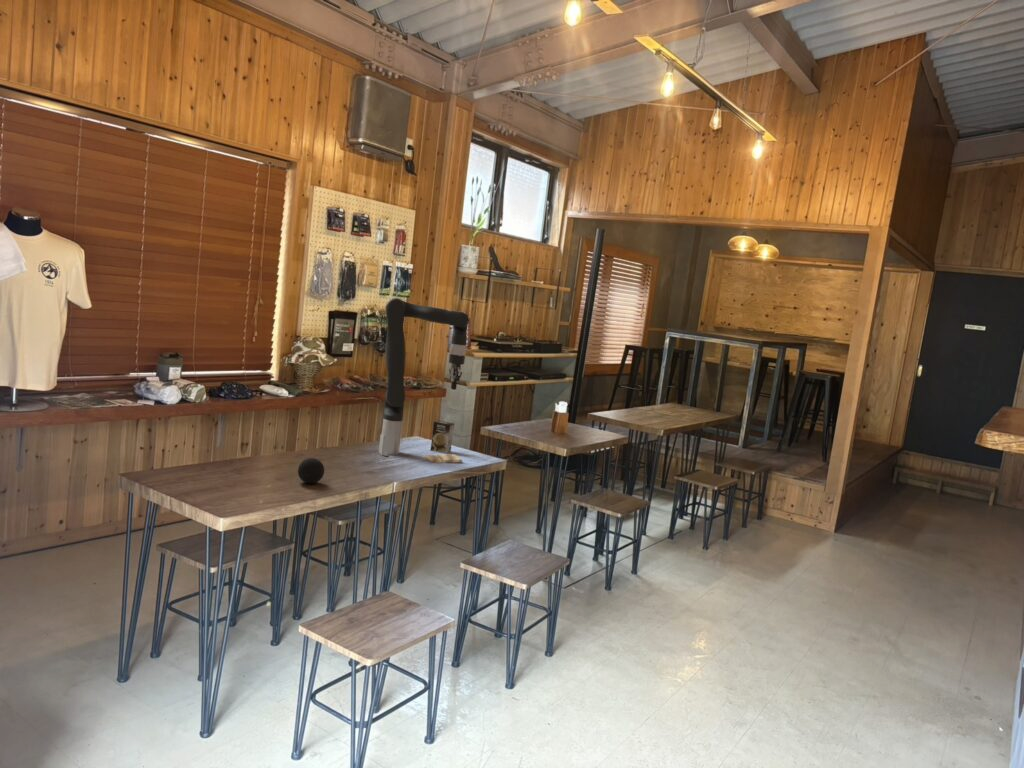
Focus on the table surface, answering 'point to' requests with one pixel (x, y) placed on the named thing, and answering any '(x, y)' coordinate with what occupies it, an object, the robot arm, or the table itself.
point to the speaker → (311, 470)
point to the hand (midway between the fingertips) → (453, 389)
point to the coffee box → (442, 436)
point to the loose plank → (449, 458)
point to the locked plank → (433, 459)
